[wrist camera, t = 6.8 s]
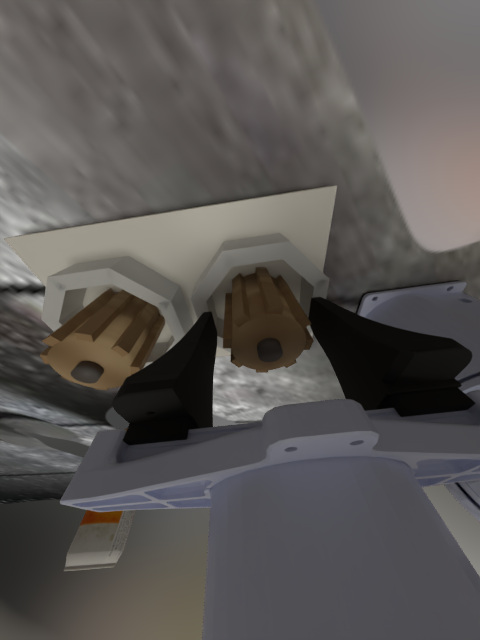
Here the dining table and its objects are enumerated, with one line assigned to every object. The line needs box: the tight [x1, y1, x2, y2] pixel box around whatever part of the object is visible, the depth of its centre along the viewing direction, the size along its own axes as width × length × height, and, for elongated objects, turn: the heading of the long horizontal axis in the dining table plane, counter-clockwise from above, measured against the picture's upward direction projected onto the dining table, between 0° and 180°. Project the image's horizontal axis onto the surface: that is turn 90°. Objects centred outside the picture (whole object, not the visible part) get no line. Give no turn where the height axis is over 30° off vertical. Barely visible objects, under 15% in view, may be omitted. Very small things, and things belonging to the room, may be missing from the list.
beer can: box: [64, 426, 135, 571], centre depth 27 cm, size 6×6×15 cm
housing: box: [4, 186, 337, 368], centre depth 15 cm, size 22×14×4 cm, turn 97°
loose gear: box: [223, 267, 313, 372], centre depth 12 cm, size 5×5×7 cm
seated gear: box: [40, 289, 165, 390], centre depth 13 cm, size 5×5×7 cm
